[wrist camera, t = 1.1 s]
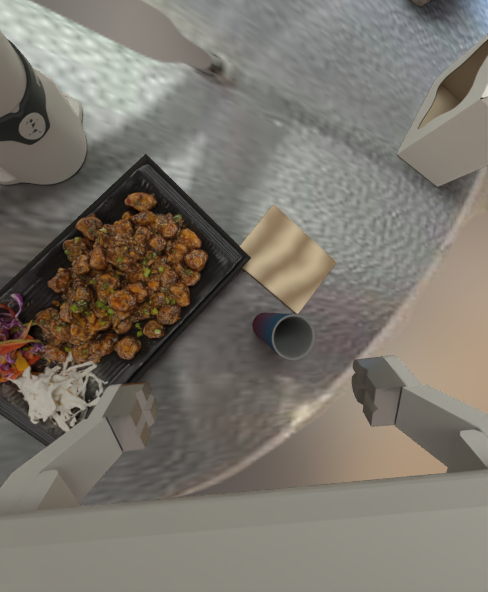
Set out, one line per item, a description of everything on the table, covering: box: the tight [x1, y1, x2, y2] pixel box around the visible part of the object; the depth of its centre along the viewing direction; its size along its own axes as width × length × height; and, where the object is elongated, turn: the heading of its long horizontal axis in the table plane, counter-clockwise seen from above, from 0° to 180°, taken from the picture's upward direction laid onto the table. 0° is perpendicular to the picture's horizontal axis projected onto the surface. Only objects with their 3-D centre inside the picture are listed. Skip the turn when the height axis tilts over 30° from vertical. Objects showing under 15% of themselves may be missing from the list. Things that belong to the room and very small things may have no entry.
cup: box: [253, 313, 315, 360], centre depth 45 cm, size 7×7×15 cm
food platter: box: [0, 154, 251, 446], centre depth 41 cm, size 45×25×10 cm, turn 137°
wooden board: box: [240, 205, 336, 314], centre depth 53 cm, size 18×14×1 cm
